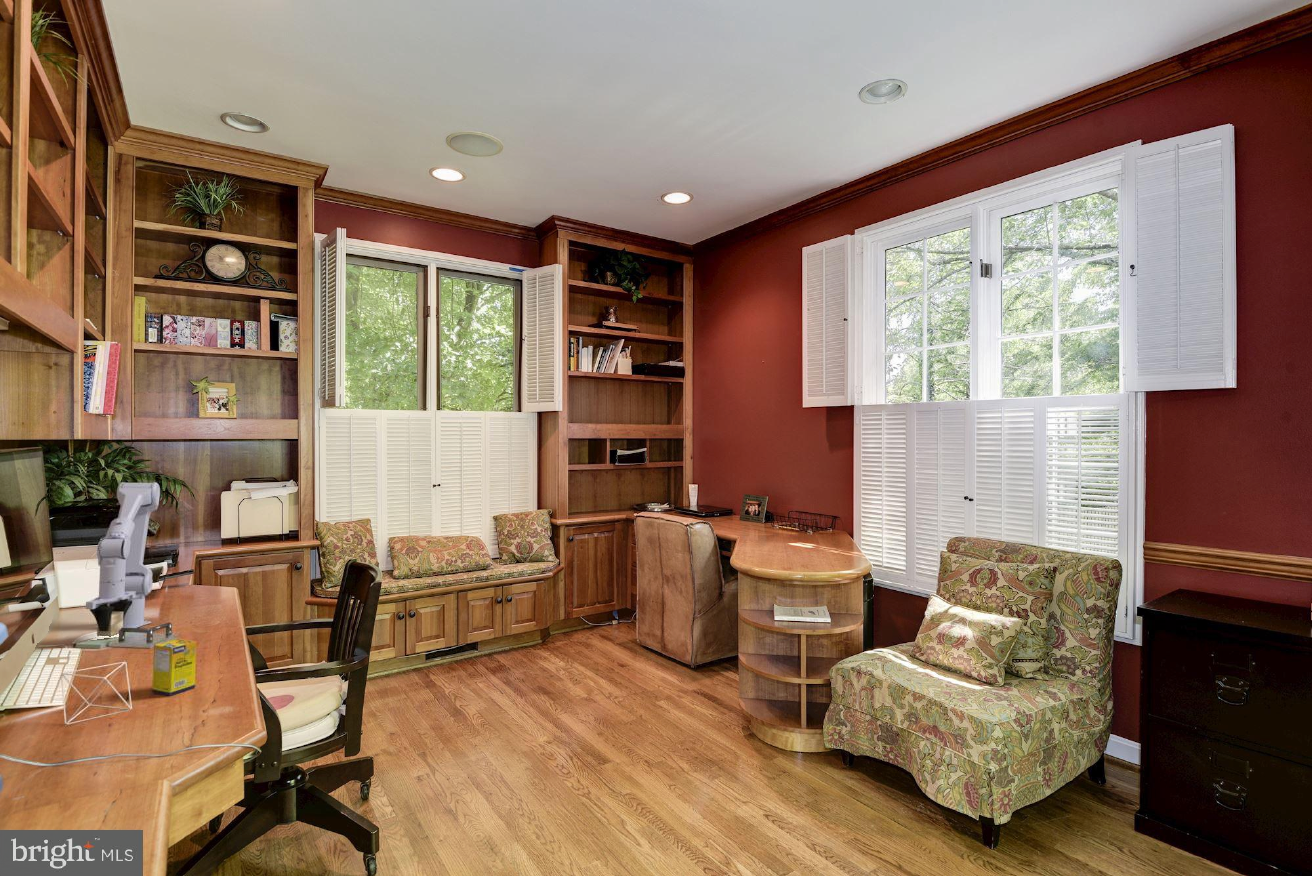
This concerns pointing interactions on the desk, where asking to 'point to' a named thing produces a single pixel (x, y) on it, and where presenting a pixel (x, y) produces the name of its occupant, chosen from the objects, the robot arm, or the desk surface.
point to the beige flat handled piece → (144, 637)
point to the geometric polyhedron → (94, 690)
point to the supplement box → (174, 666)
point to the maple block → (113, 625)
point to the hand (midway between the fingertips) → (110, 628)
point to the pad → (99, 642)
